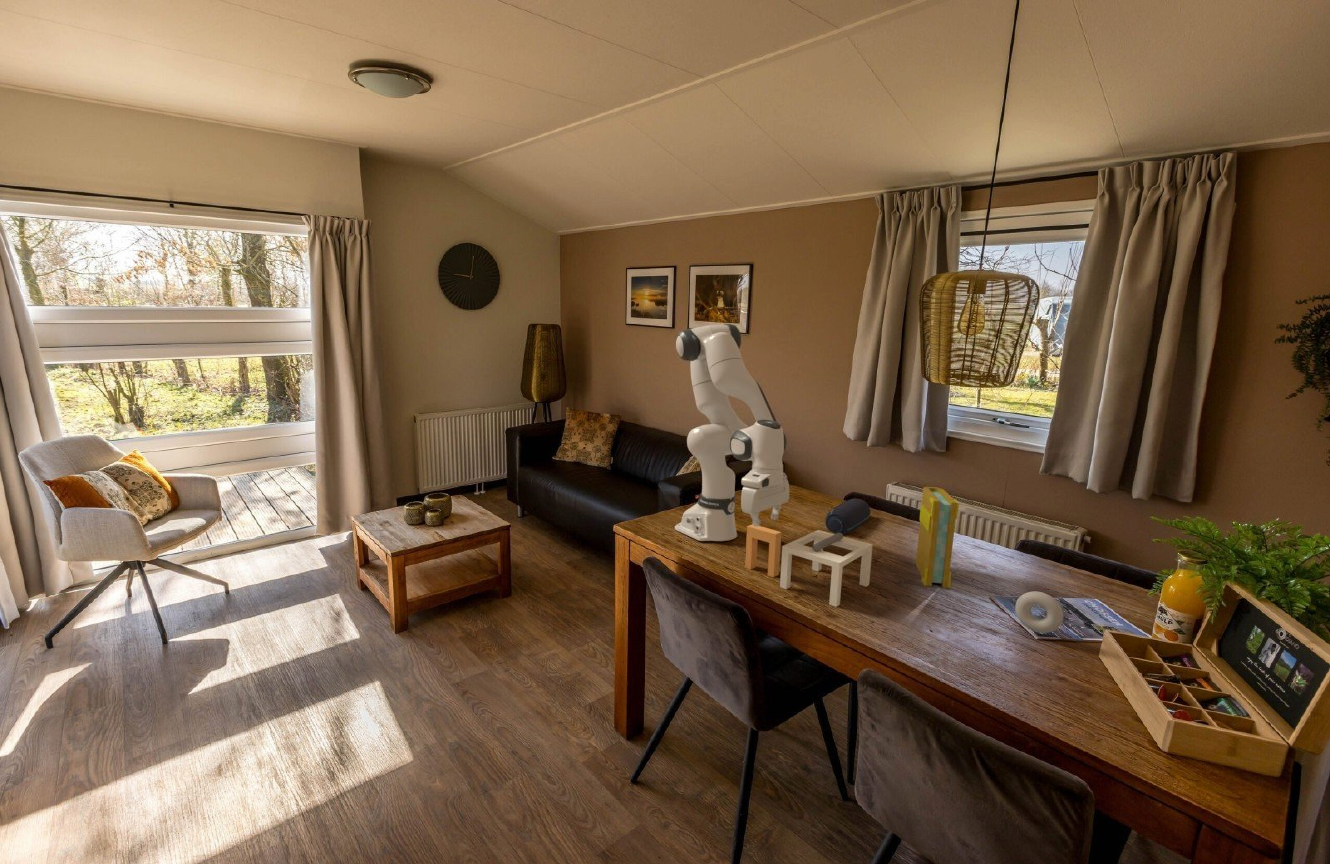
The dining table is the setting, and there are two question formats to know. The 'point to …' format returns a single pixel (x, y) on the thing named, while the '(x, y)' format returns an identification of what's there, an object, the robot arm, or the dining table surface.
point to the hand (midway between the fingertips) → (765, 522)
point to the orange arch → (774, 548)
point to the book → (936, 536)
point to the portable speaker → (847, 516)
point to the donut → (1034, 623)
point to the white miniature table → (827, 559)
